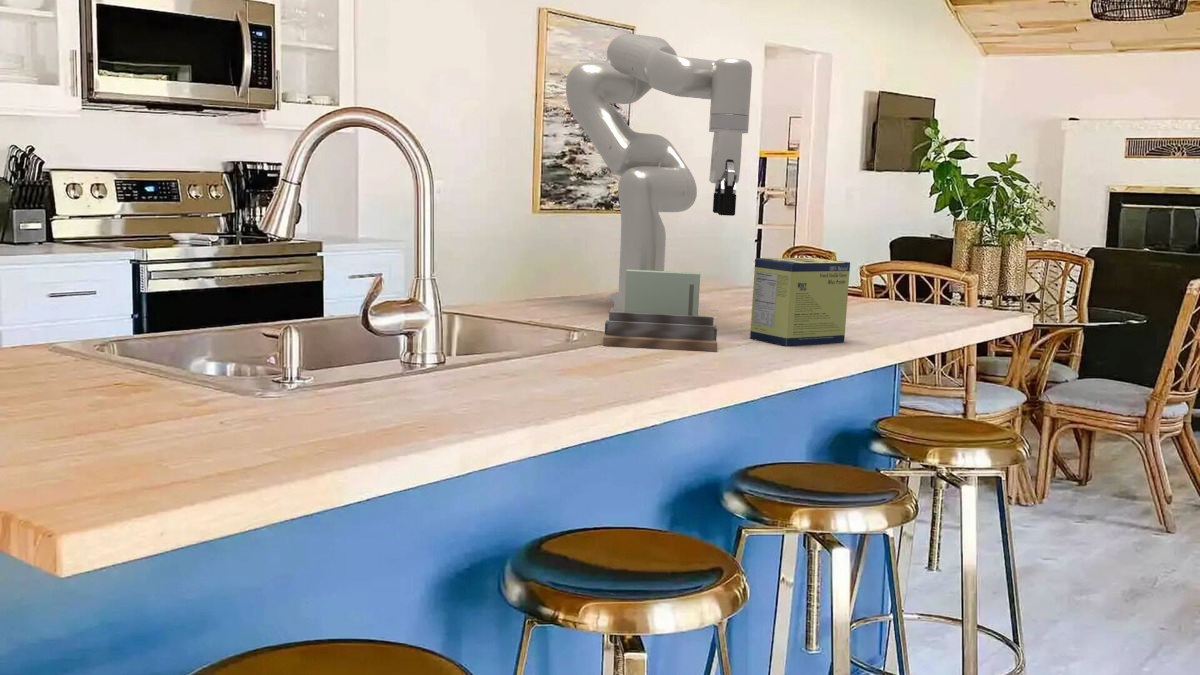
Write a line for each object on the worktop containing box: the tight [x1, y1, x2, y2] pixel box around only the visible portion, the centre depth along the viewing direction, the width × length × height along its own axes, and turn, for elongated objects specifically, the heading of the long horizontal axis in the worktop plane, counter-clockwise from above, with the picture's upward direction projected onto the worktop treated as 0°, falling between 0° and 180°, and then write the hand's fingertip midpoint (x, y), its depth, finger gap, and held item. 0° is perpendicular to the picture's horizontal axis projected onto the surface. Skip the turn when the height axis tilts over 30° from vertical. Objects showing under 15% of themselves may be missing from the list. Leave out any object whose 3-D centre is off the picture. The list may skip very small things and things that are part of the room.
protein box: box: [749, 256, 851, 347], centre depth 224 cm, size 10×16×16 cm
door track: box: [602, 311, 718, 353], centre depth 213 cm, size 20×12×5 cm, turn 87°
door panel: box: [624, 269, 701, 316], centre depth 225 cm, size 14×3×12 cm, turn 87°
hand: (723, 214), depth 229 cm, fingers open, 9 cm apart
